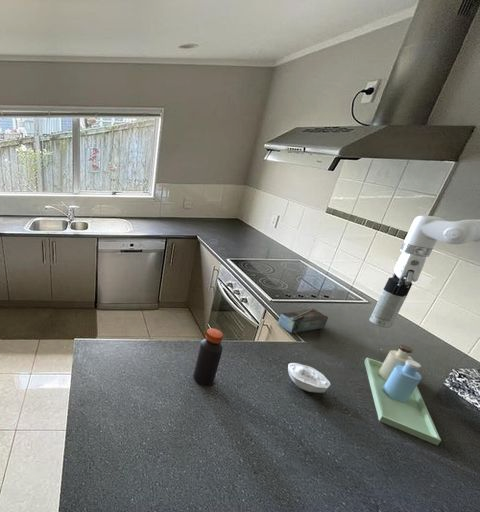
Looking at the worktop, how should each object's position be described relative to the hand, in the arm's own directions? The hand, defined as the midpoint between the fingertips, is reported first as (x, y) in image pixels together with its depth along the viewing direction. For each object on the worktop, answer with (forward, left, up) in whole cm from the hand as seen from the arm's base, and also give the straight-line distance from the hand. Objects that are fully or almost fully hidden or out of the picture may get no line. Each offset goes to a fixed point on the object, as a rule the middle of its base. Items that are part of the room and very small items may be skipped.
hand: (395, 291), depth 110 cm
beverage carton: (+24, +5, -25) cm, 36 cm away
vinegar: (+51, +65, -25) cm, 86 cm away
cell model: (+22, +46, -25) cm, 57 cm away
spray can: (0, 0, -15) cm, 15 cm away
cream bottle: (-3, +23, -25) cm, 34 cm away
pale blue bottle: (-3, +32, -25) cm, 40 cm away
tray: (-3, +33, -25) cm, 41 cm away
